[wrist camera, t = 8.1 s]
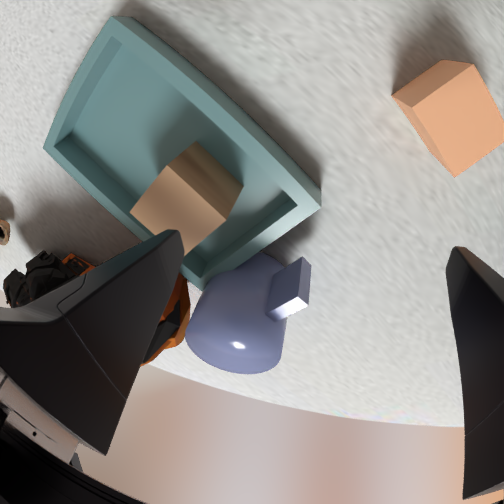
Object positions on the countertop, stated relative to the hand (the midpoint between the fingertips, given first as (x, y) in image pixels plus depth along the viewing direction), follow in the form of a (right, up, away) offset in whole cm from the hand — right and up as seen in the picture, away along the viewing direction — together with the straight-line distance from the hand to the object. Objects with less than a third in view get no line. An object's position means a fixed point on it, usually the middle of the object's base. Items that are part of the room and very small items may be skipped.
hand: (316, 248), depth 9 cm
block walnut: (-6, +5, +12) cm, 14 cm away
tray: (-8, +7, +11) cm, 15 cm away
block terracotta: (+10, +9, +6) cm, 14 cm away
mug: (-1, -2, +16) cm, 17 cm away
